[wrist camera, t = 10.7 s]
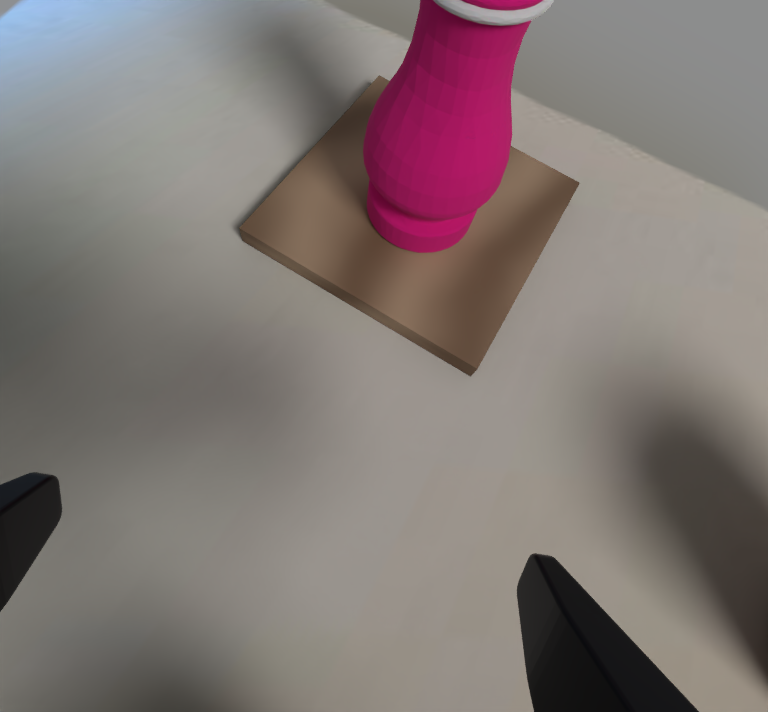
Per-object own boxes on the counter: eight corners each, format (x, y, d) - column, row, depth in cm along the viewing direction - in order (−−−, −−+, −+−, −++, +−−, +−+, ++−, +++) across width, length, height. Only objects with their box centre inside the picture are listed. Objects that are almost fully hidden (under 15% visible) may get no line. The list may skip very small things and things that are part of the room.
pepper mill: (436, 285, 25) (727, -385, 7) (332, 214, 26) (343, -545, 8) (500, 204, 28) (839, -441, 9) (404, 142, 29) (541, -558, 10)
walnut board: (570, 195, 30) (579, 182, 29) (470, 376, 25) (477, 369, 24) (377, 91, 32) (379, 75, 31) (242, 241, 26) (239, 228, 25)
